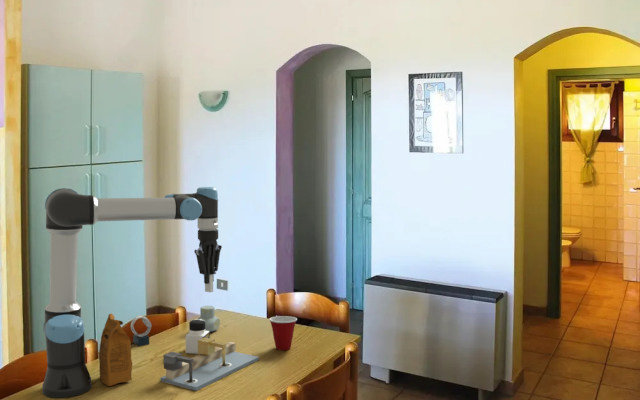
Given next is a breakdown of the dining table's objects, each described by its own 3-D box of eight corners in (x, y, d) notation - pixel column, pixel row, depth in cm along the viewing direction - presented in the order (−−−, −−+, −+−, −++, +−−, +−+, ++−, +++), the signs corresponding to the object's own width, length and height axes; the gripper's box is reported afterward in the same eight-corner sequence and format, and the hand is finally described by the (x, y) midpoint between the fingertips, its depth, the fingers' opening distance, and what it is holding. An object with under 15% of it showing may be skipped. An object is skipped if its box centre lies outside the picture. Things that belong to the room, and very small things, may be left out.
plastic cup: (298, 343, 267) (298, 314, 265) (295, 353, 256) (295, 322, 255) (271, 343, 268) (271, 313, 267) (267, 352, 257) (266, 321, 256)
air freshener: (212, 335, 278) (211, 311, 277) (193, 333, 280) (192, 310, 279) (221, 327, 289) (221, 304, 288) (203, 326, 291) (203, 303, 290)
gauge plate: (196, 390, 220) (196, 387, 219) (160, 381, 228) (160, 377, 228) (258, 360, 248) (258, 356, 248) (224, 352, 257) (224, 349, 257)
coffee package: (125, 371, 237) (123, 310, 235) (135, 382, 226) (133, 319, 224) (96, 376, 232) (94, 314, 230) (104, 388, 221) (102, 323, 219)
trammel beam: (188, 383, 223) (187, 360, 222) (164, 377, 228) (163, 354, 227) (250, 354, 251) (250, 333, 251) (227, 348, 257) (227, 329, 256)
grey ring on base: (153, 343, 267) (153, 316, 266) (134, 347, 263) (133, 319, 261) (148, 339, 272) (147, 313, 271) (129, 343, 267) (128, 316, 266)
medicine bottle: (203, 354, 254) (202, 323, 253) (185, 353, 256) (184, 322, 254) (210, 348, 261) (209, 318, 260) (192, 347, 263) (192, 317, 261)
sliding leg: (221, 366, 237) (221, 345, 236) (198, 361, 243) (197, 340, 242) (228, 363, 240) (228, 342, 240) (205, 357, 246) (205, 337, 245)
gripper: (203, 232, 241) (205, 296, 244) (227, 227, 252) (228, 289, 255) (188, 230, 245) (189, 293, 248) (211, 226, 256) (212, 286, 259)
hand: (209, 291), depth 251 cm, fingers closed
